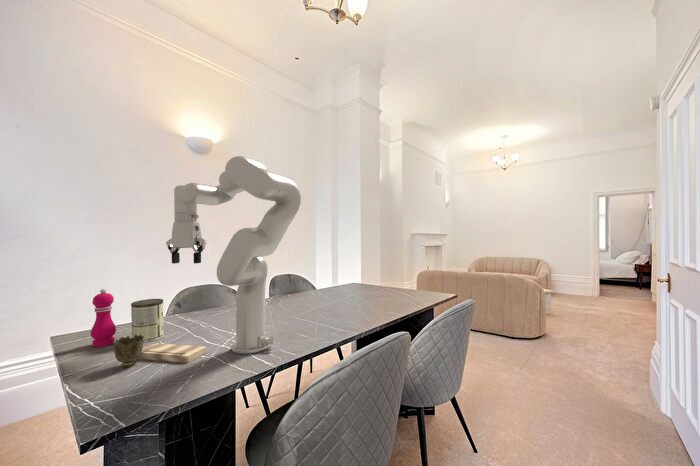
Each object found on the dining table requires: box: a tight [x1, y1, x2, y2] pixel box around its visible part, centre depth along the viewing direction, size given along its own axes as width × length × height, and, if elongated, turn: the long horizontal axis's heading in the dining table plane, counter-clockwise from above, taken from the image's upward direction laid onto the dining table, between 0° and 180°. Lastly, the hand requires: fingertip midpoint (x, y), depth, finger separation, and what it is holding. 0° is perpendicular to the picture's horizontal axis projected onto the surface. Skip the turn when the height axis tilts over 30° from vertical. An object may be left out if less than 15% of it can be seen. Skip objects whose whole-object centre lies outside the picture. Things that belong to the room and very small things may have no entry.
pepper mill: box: [90, 288, 117, 348], centre depth 109 cm, size 7×7×20 cm
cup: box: [112, 335, 144, 368], centre depth 90 cm, size 8×7×8 cm
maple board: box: [136, 342, 208, 364], centre depth 97 cm, size 20×8×2 cm, turn 77°
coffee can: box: [130, 298, 165, 344], centre depth 114 cm, size 10×10×14 cm
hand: (186, 263), depth 114 cm, fingers open, 9 cm apart
